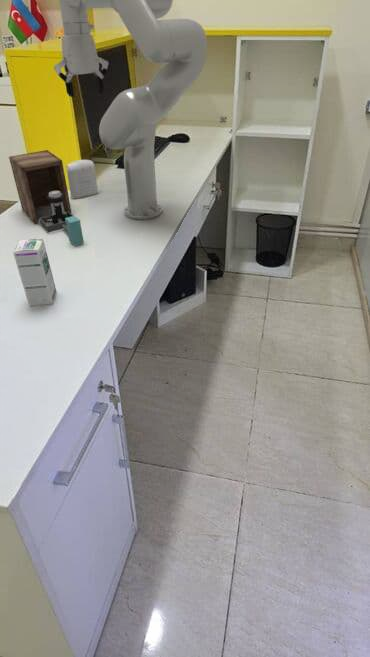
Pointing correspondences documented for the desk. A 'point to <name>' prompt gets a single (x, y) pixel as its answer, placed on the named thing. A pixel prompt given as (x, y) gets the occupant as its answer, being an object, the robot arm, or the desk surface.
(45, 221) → the teal and black gadget
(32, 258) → the syrup box
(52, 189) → the walnut cubby
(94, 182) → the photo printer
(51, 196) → the self-inking stamp
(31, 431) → the desk surface
